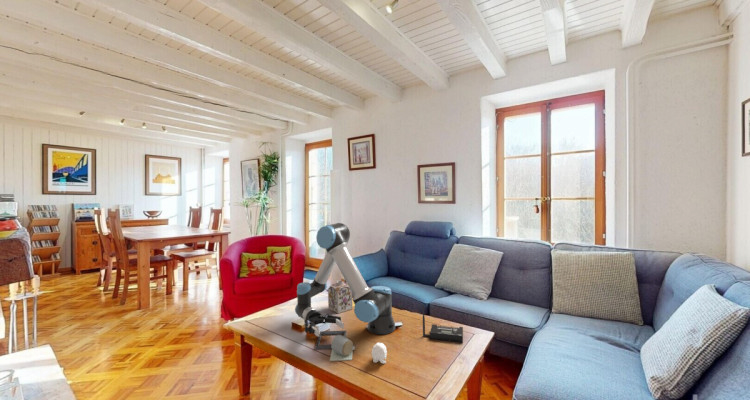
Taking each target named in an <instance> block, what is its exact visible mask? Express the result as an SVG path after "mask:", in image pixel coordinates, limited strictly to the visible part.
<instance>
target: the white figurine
mask: <svg viewBox="0 0 750 400" xmlns="http://www.w3.org/2000/svg"><path fill="white" fill-rule="evenodd" d="M387 355H388V350H387V346H386V345H385V344H384V343H382V342H376V343H375V344H373V347H372V349H371V357H372V359H373V360H372V362H373V363H375V364H377V363H378V362H380V363H381V364H382V365H383V364H387V361H386V360H387Z"/></svg>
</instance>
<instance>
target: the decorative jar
mask: <svg viewBox="0 0 750 400" xmlns="http://www.w3.org/2000/svg"><path fill="white" fill-rule="evenodd" d="M327 296H328V297H327V301H328V302H327V304H328V310H330V311H332V312H334V313H336V314H342V313H345V312H349V311H351V310H352V309H353V293H352V292H351V290H350V288H349V286H348V284H347V282H344V281H343V280H337V281H336V282H334V283H332V284H331V285H330V286H329V287H328V288H327Z"/></svg>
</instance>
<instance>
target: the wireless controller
mask: <svg viewBox="0 0 750 400" xmlns="http://www.w3.org/2000/svg"><path fill="white" fill-rule="evenodd" d="M425 319H426V318H425V305H424V304H422V337H423V338H424V337H427V338H429V340H430V341H431V340H432V341H441V342H442V341H443V342H450V343H451V342H453V343H460V344H464V327H463V326H459V327H458V326H457V327H454V326H445V325H440V324H439V325H437V324H435V323H434V324H431V328H430V332H429V334H428V333H427V334H426V320H425Z"/></svg>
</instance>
